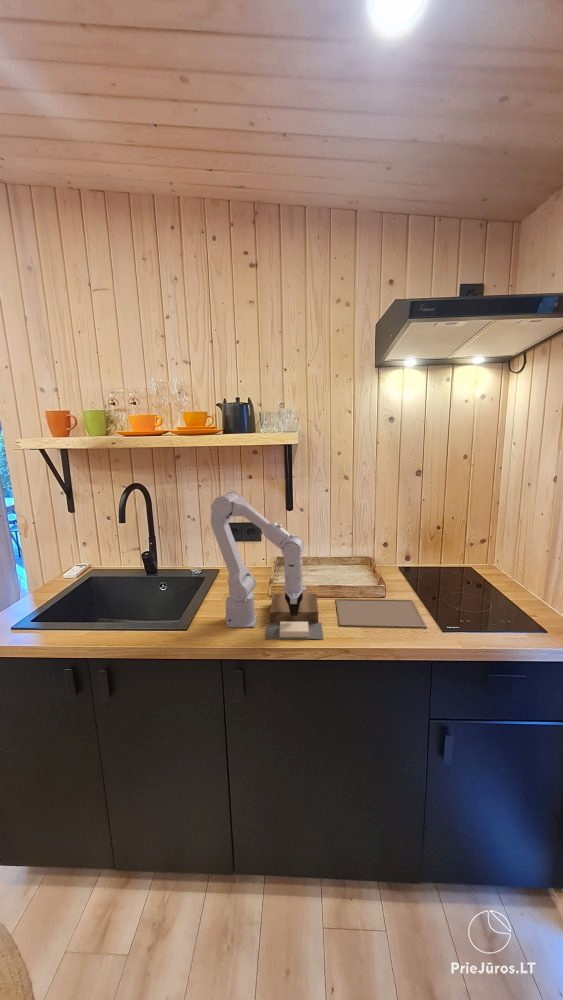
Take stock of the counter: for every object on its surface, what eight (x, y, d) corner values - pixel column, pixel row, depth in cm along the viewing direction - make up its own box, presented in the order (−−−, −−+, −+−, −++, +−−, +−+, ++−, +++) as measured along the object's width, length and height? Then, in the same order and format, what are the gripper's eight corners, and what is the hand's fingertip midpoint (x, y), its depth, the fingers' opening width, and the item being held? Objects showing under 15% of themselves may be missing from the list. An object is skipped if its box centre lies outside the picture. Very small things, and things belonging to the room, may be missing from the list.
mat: (265, 639, 125) (265, 638, 125) (267, 623, 135) (267, 622, 135) (323, 639, 124) (323, 638, 124) (321, 623, 134) (321, 622, 134)
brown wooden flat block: (270, 623, 135) (270, 612, 134) (272, 603, 149) (272, 593, 148) (318, 623, 134) (318, 612, 133) (316, 603, 148) (316, 593, 147)
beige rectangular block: (280, 621, 131) (280, 627, 132) (279, 631, 125) (279, 637, 126) (308, 621, 131) (308, 627, 131) (308, 631, 125) (308, 637, 125)
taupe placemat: (339, 627, 132) (426, 629, 130) (339, 624, 132) (426, 626, 130) (335, 601, 151) (412, 602, 149) (335, 598, 151) (412, 599, 148)
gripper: (306, 584, 121) (307, 626, 123) (305, 566, 135) (305, 604, 138) (283, 584, 121) (284, 625, 124) (284, 566, 135) (285, 604, 138)
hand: (294, 614), depth 131 cm, fingers closed
